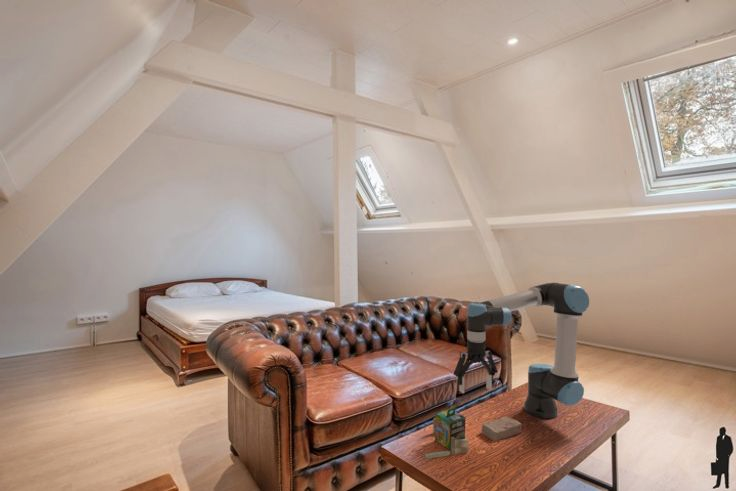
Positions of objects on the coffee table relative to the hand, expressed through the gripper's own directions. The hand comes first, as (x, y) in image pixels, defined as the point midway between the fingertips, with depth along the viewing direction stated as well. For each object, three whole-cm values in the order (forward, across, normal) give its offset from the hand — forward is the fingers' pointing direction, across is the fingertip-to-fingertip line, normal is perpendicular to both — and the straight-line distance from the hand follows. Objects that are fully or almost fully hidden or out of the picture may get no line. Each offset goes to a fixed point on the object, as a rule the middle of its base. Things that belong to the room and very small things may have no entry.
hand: (475, 390), depth 157 cm
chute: (+20, +12, 0) cm, 24 cm away
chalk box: (+21, +12, 0) cm, 24 cm away
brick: (+21, -14, -2) cm, 25 cm away
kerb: (+20, +21, +8) cm, 31 cm away
